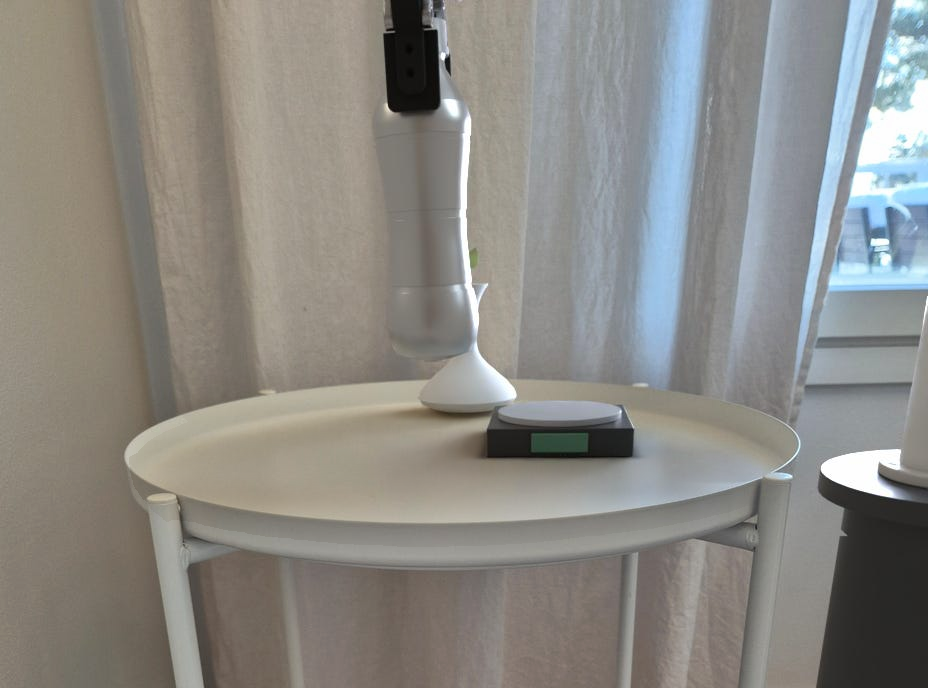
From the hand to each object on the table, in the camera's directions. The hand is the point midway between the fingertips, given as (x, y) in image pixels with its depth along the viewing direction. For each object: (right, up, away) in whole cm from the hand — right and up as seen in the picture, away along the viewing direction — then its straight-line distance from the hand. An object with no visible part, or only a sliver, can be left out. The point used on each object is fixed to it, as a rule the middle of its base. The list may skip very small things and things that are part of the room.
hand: (422, 115), depth 57 cm
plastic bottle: (+1, -14, +6) cm, 15 cm away
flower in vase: (+3, -7, +46) cm, 47 cm away
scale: (+12, -15, +29) cm, 34 cm away
